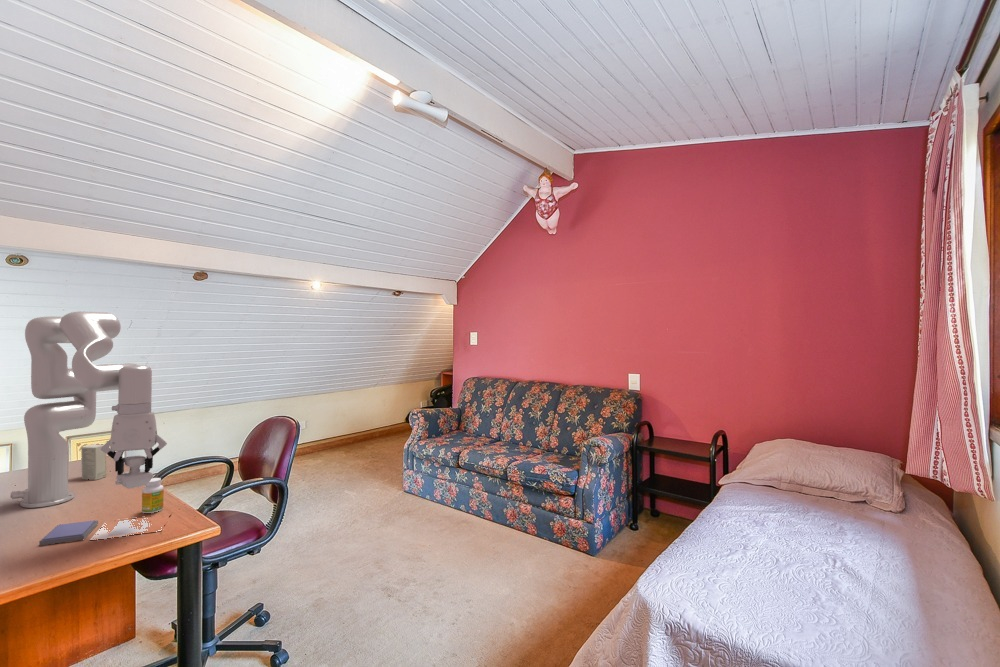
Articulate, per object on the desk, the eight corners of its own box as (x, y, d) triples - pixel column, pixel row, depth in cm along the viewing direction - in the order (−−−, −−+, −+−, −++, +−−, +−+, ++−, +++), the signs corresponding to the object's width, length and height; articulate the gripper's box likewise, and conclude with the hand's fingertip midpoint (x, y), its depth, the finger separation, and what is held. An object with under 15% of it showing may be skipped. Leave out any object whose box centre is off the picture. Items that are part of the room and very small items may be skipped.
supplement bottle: (151, 515, 145) (152, 483, 144) (137, 513, 146) (137, 481, 146) (167, 508, 150) (168, 477, 150) (153, 507, 151) (153, 476, 151)
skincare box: (106, 476, 180) (107, 444, 180) (95, 480, 175) (95, 447, 175) (91, 475, 181) (92, 443, 180) (80, 479, 176) (80, 446, 176)
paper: (89, 541, 126) (89, 540, 126) (106, 521, 139) (106, 520, 139) (161, 531, 133) (161, 530, 133) (171, 513, 146) (172, 513, 146)
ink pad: (39, 546, 123) (39, 540, 123) (57, 529, 133) (57, 524, 133) (83, 540, 127) (83, 534, 127) (98, 524, 137) (98, 519, 137)
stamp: (119, 493, 130) (120, 462, 130) (110, 488, 134) (111, 458, 134) (157, 484, 138) (158, 455, 138) (148, 480, 141) (148, 451, 141)
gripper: (92, 412, 129) (91, 479, 129) (168, 409, 136) (167, 472, 136) (101, 408, 136) (100, 472, 136) (173, 405, 143) (172, 465, 143)
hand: (134, 471), depth 136 cm, fingers closed on stamp, 5 cm apart
